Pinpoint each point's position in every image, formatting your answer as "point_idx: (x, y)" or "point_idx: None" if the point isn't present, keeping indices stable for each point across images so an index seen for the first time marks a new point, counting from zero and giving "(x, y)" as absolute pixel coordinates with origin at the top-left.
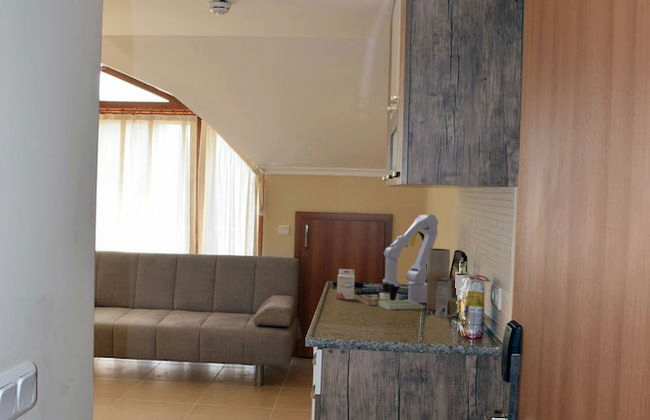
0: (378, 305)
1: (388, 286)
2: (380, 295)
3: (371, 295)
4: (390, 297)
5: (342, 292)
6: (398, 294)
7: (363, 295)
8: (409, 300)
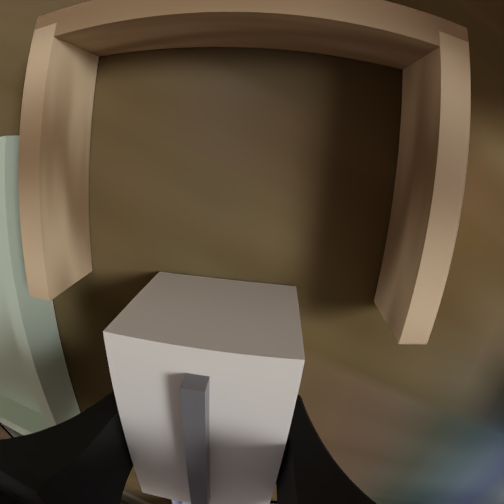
0: None
1: (16, 469)
2: (258, 331)
3: (425, 231)
4: None
5: None
6: (142, 486)
7: (438, 76)
8: None
